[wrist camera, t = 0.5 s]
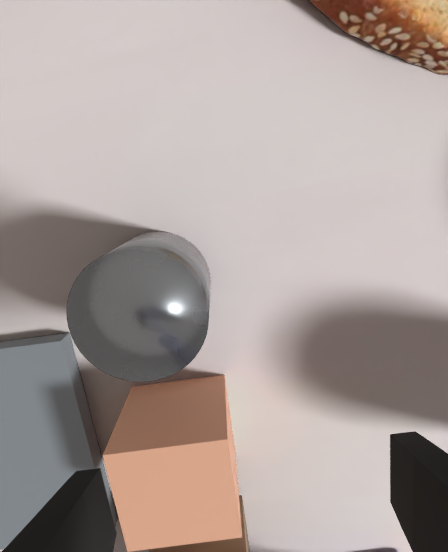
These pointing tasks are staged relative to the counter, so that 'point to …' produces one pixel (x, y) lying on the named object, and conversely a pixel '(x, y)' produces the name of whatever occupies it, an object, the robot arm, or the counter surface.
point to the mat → (41, 428)
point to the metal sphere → (142, 307)
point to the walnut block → (215, 542)
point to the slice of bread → (396, 27)
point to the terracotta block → (175, 465)
